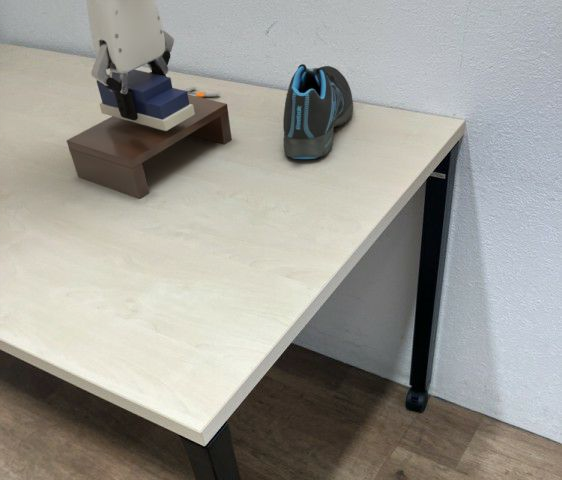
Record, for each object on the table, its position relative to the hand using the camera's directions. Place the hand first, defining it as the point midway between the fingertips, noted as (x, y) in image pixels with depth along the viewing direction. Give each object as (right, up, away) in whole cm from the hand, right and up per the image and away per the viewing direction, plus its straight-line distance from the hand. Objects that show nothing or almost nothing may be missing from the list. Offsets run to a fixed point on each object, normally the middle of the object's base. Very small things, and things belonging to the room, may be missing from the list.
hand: (146, 108), depth 94 cm
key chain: (+2, +11, +22) cm, 25 cm away
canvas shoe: (0, -1, +1) cm, 1 cm away
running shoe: (+28, +1, +10) cm, 30 cm away
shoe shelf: (+1, -6, +6) cm, 8 cm away
